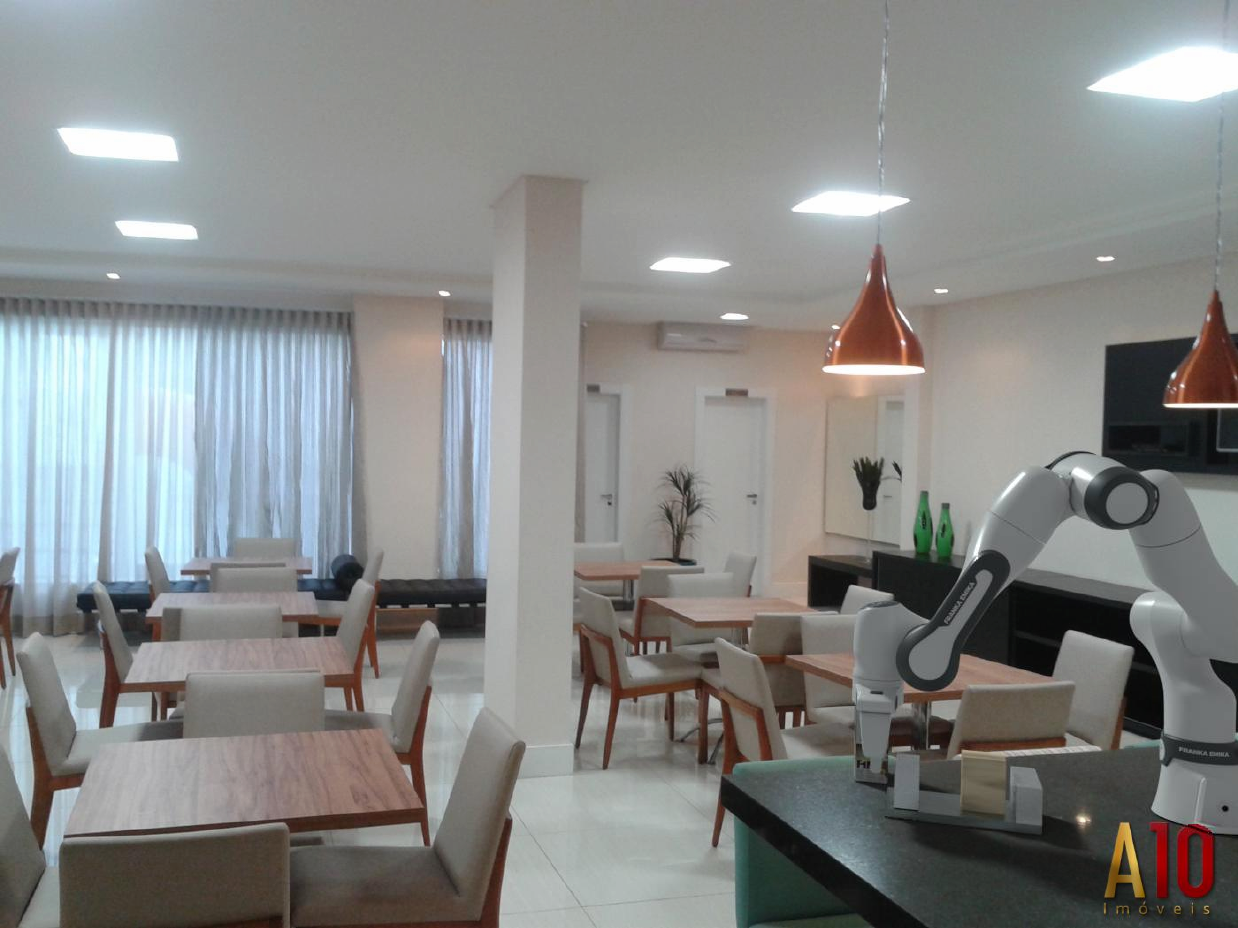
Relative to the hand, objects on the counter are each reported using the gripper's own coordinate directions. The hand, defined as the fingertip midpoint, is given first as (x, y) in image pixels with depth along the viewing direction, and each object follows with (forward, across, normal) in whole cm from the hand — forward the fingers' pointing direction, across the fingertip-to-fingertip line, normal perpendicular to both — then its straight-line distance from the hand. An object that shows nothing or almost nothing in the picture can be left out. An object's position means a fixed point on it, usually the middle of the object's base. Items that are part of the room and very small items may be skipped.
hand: (875, 770), depth 188 cm
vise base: (+6, 0, +14) cm, 15 cm away
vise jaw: (+4, 0, +5) cm, 7 cm away
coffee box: (+6, -18, -2) cm, 19 cm away
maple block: (+4, 0, +18) cm, 18 cm away
